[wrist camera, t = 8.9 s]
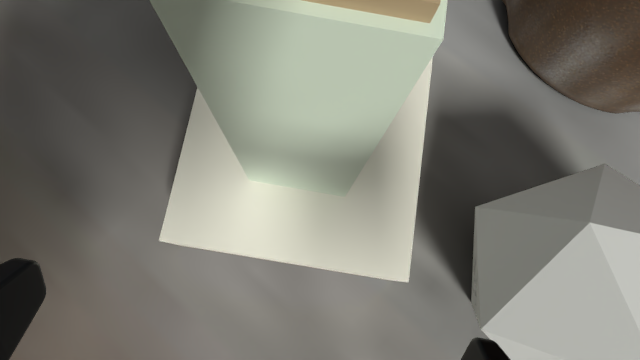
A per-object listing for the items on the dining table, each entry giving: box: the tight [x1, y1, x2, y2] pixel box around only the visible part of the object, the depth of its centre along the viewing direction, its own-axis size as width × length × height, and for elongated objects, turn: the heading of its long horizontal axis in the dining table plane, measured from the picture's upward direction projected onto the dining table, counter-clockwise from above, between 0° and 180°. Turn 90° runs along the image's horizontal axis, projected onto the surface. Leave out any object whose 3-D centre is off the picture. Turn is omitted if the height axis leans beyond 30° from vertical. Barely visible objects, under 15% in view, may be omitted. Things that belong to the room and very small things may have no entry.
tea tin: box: [149, 0, 448, 197], centre depth 11 cm, size 4×4×12 cm
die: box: [471, 164, 640, 360], centre depth 15 cm, size 8×9×10 cm
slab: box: [159, 58, 433, 282], centre depth 18 cm, size 10×10×3 cm
